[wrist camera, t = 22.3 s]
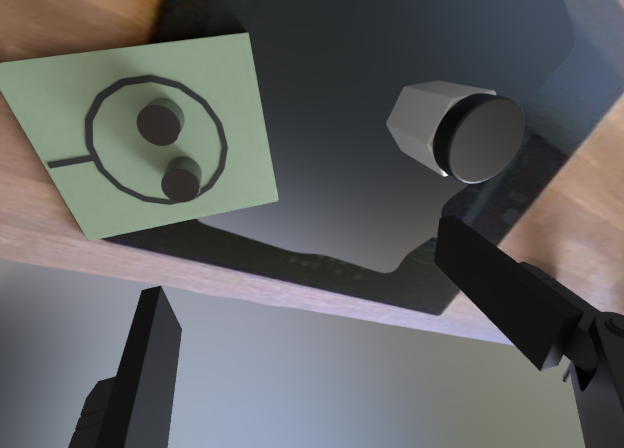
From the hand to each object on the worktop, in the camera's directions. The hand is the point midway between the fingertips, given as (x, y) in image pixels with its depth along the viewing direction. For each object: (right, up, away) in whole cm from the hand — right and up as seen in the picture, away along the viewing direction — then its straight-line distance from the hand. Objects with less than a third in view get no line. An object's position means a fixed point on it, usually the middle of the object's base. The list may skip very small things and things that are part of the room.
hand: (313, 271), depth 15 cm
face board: (-16, +11, +19) cm, 27 cm away
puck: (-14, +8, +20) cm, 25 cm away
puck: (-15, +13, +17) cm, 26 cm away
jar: (+13, +16, +25) cm, 32 cm away
